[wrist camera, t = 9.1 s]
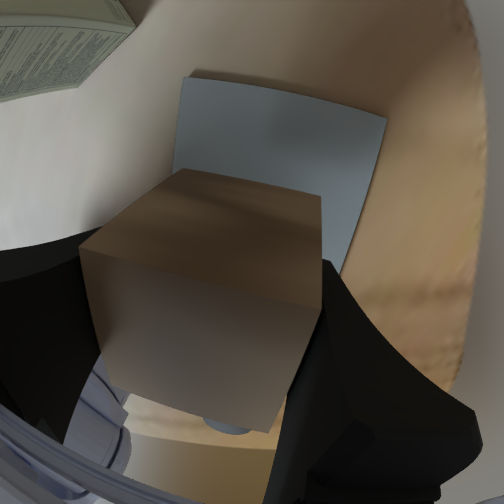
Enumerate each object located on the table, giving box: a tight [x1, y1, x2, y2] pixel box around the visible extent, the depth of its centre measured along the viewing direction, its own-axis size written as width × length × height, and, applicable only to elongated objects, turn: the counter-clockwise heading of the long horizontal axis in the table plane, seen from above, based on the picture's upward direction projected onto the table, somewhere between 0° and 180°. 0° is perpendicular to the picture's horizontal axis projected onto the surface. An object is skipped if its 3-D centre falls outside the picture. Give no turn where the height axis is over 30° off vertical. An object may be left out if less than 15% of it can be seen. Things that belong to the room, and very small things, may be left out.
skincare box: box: [0, 0, 136, 103], centre depth 10 cm, size 6×4×12 cm
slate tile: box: [172, 77, 387, 274], centre depth 18 cm, size 11×11×1 cm
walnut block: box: [79, 168, 322, 433], centre depth 10 cm, size 5×5×6 cm
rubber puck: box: [203, 417, 251, 435], centre depth 29 cm, size 5×5×2 cm
